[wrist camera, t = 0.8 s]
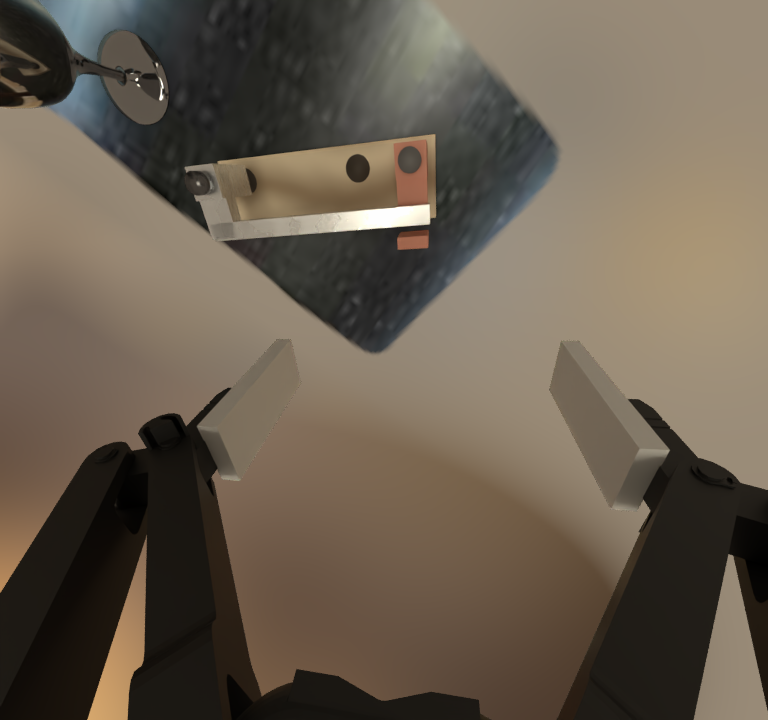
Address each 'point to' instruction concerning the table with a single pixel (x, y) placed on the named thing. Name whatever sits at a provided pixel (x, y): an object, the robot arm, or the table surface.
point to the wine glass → (75, 65)
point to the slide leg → (412, 186)
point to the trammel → (224, 220)
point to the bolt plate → (327, 180)
